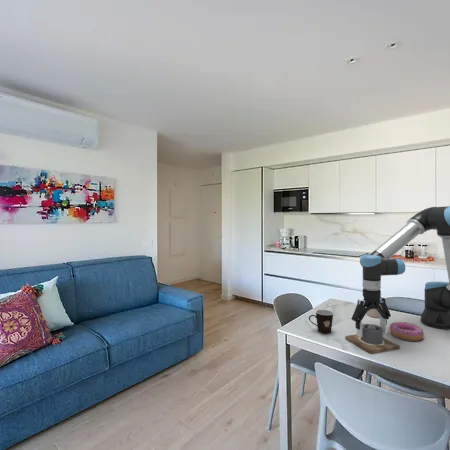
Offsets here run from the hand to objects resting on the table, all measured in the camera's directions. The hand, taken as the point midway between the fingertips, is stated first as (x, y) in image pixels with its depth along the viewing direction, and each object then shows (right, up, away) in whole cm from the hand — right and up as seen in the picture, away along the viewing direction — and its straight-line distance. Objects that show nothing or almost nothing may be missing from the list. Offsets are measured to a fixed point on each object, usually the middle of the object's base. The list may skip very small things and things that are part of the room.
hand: (371, 333), depth 133 cm
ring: (0, -3, 0) cm, 3 cm away
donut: (+22, -5, +8) cm, 24 cm away
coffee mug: (-18, -5, +16) cm, 24 cm away
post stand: (0, -5, 0) cm, 5 cm away
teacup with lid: (+21, -3, +39) cm, 44 cm away
